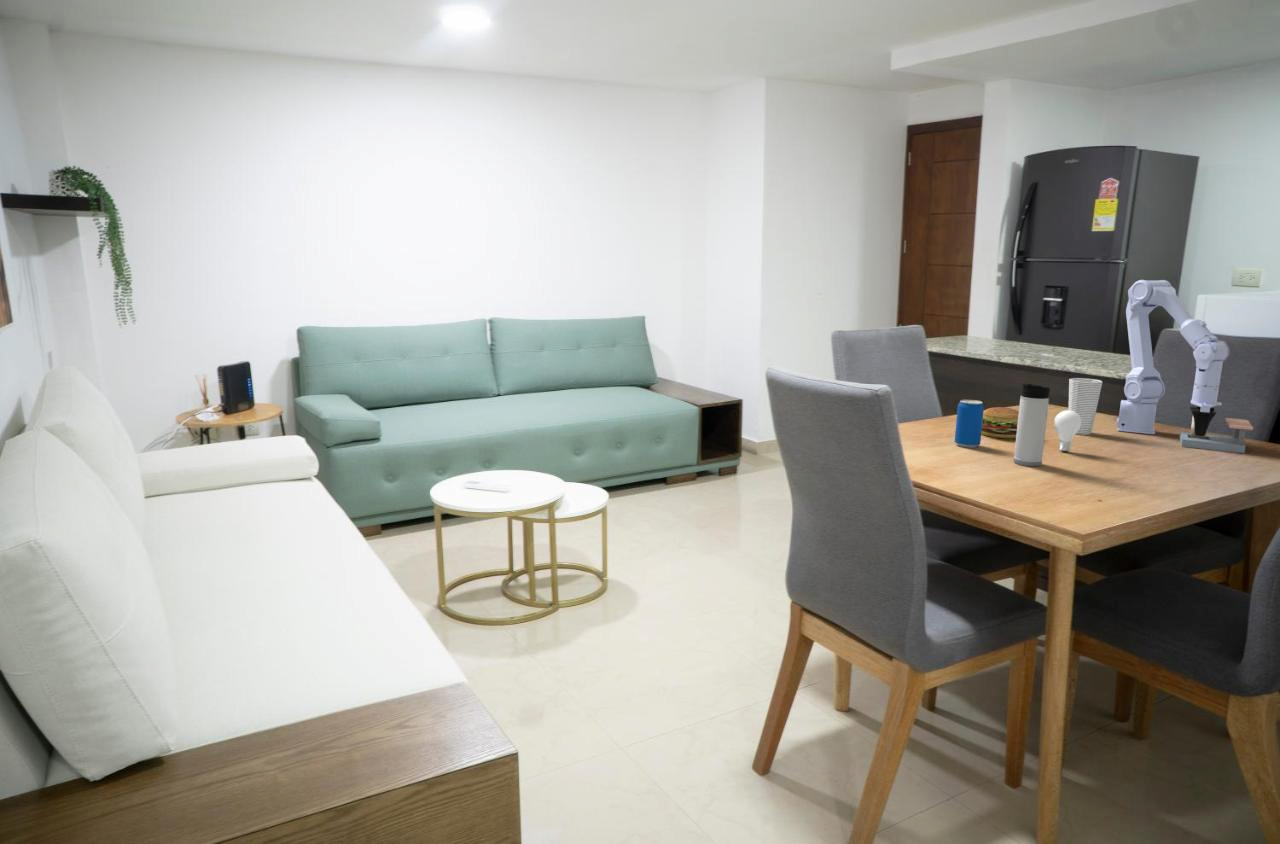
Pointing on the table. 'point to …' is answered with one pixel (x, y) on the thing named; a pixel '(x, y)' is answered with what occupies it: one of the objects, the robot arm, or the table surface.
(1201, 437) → the peg
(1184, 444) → the socket station
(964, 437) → the beverage can
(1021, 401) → the travel mug
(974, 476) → the table surface
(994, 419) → the food
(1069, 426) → the lightbulb
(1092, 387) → the cup
